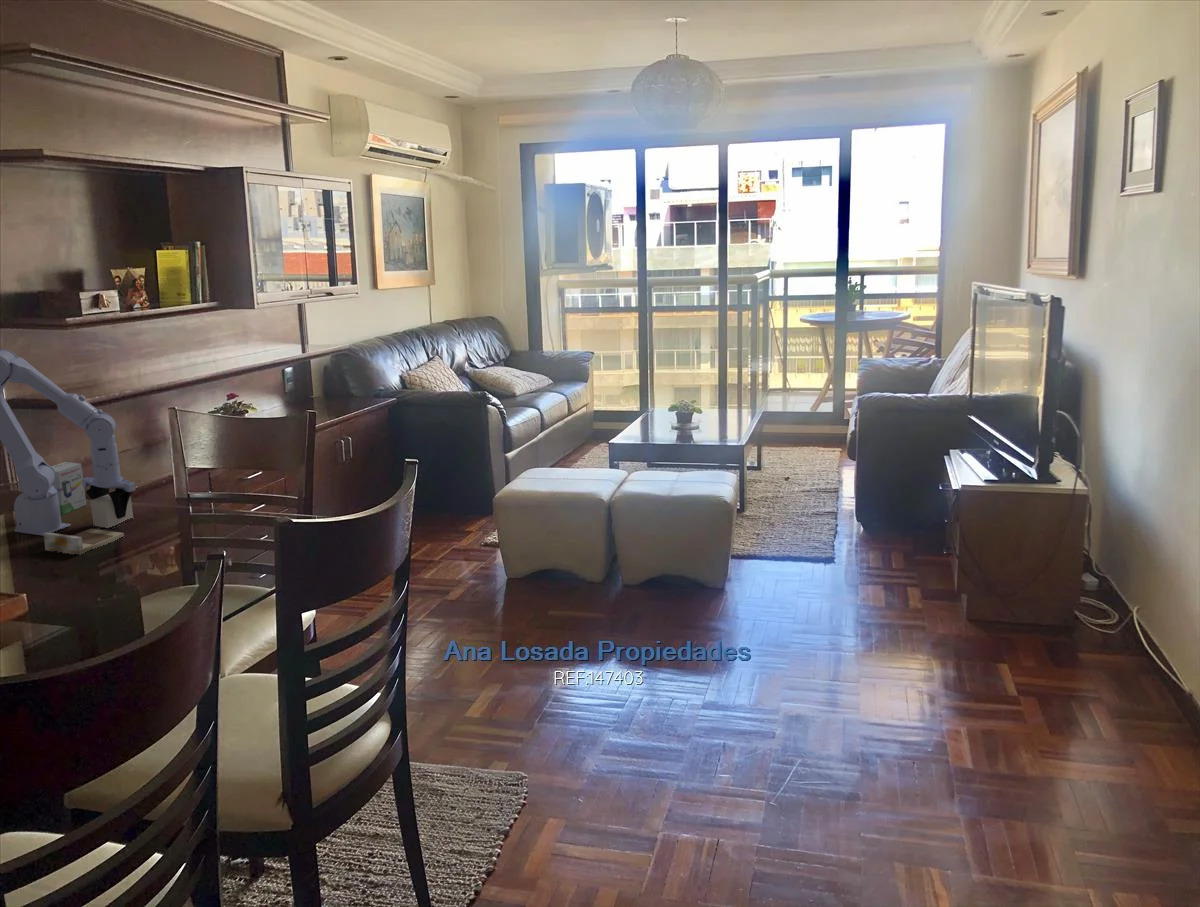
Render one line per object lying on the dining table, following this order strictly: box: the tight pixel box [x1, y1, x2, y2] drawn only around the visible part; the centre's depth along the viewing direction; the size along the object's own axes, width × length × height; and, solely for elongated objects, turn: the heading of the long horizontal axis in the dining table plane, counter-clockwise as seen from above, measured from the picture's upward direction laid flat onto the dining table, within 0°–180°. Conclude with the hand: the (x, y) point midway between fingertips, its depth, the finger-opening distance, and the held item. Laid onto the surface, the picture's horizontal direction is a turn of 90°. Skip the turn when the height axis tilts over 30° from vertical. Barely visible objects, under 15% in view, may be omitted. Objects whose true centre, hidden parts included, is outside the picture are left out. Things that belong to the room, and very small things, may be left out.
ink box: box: [50, 461, 87, 516], centre depth 243 cm, size 9×5×12 cm, turn 168°
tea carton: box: [89, 494, 134, 528], centre depth 233 cm, size 5×8×7 cm, turn 162°
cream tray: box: [43, 528, 125, 556], centre depth 219 cm, size 10×13×4 cm
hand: (112, 516), depth 233 cm, fingers closed on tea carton, 5 cm apart
